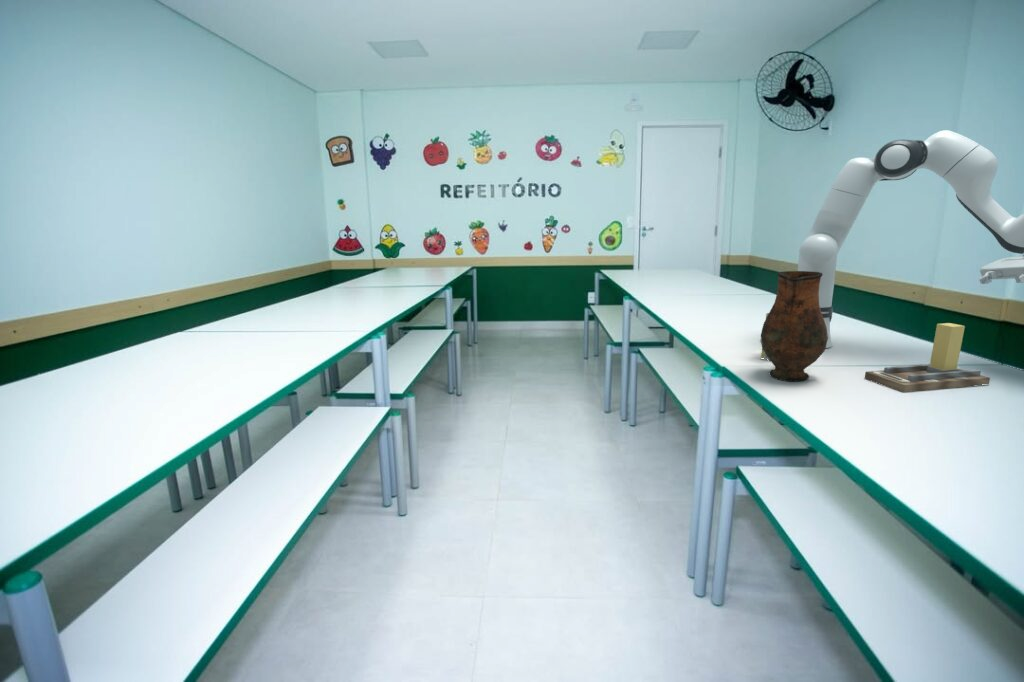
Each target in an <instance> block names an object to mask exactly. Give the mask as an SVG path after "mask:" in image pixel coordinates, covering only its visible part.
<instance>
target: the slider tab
mask: <svg viewBox="0 0 1024 682" xmlns="http://www.w3.org/2000/svg"><path fill="white" fill-rule="evenodd" d="M965 328H966V326H965V325H962V324H957V323H951V322H945V323H937V324H936V327H935V329H936V330H935V332H934V333H935V334H934V335H935V336H934V338H933V345H932V351H931V356H930V363H929V364H930V366H927V372H930V373H939V372H951V371H959V369H960V368H958V364H959V359H960V353H961V349H962V343H963V338H964V332H965Z"/></svg>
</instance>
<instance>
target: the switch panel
mask: <svg viewBox="0 0 1024 682" xmlns="http://www.w3.org/2000/svg"><path fill="white" fill-rule="evenodd" d="M927 366H930V363H922V364H910V365H898V366H887V367H886V366H885V367H884V369H881V370H871V371H870V370H869V371H865V373H864V379H865V378H866V380H867V379H869V380H868V381H870V380H872V381H871V382H873V381H874V383H876V382H877V383H876V384H879V383H880V384H879V385H881V384H882V386H884V385H885V386H884V387H887V388H890V389H893V390H896V391H898V392H901V393H911V392H914V393H915V392H922V391H923V392H924V391H935V390H946V389H957V388H956V387H959V388H966V387H965V386H971V387H975V386H974V385H982V384H989V385H990V381H991V377H989V376H985V375H981V372H982V370H979V369H965V370H964V369H961V368H958V369H959V371H951V372H939V373H930V372H927ZM982 386H983V385H982Z"/></svg>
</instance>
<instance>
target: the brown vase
mask: <svg viewBox="0 0 1024 682" xmlns="http://www.w3.org/2000/svg"><path fill="white" fill-rule="evenodd" d="M822 275H823V274H822V273H820V272H810V271H798V270H790V271H789V270H788V271H787V270H786V271H778V272H777V276H778V283H777V291H776V292H777V293H776V295H775V300H774V303H773V305H772V307H771V309H770V311H769V312H768V313H769V314H768V316H767V318H766V317H765V320H764V321H763V324H762V329H761V333H760V342H761V349H762V348H763V350H764V352H765V354H766V355H767V357H768V358H769V360H770V363H772V365H773V367H774V369H771V370H770V371H769V373H770V374H769V376H770V375H771V376H770V377H771V378H773V377H774V378H773V379H775V378H777V379H776V380H779V379H781V380H780V381H784V380H786V381H785V382H804V381H806V380H808V379H809V374H808V373H807V372H805V369H807V368H808V367H809V366H811V365H812V364H814V363H815V362H816V361H817V360H818V359H819V358H820V356H821V355H823V353H824V352H825V351H826V349H827V348H826V344H827V340H828V334H827V327H826V324H825V321H824V319H823V316H822V313H821V309H820V306H819V284H820V279H821V276H822Z"/></svg>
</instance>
